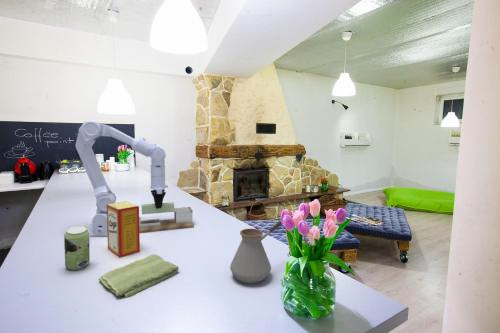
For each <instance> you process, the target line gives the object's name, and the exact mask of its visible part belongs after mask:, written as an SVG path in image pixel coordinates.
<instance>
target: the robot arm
mask: <svg viewBox="0 0 500 333" xmlns="http://www.w3.org/2000/svg"><path fill="white" fill-rule="evenodd" d="M76 137H77V138H76V142H75V148H76V151H77V153H78V155H79V158H80V160H81V162H82V165H83V168H84V169H85V172H86V174H87V177H88V179H89V181H90V184H91V186H92V189H93V193H94V196H95V199H96V202H95V207H96V214H95V215H94V216H93V218H92V219H91V226H92V233H91V234H89V237H108V234H107V204H112V203H117V202H116V201H117V196H116V194H115V193H114V192H112V190H111V187H110V186H109V185H108V183H107V181H106V178H105V177H104V174H103V172H102V169H101V166H100V164H99V162H98V159H97V157H96V155H95V152H94V150H93V145H94V144H95V143H96V141H97V140H98V139H99V138H100V137H112V138H114V139H116V140H117V141H120V142H122V143H124V144H127V145H129V146H131V150H132V151H134V152H136V153H138V154H141V155H142V156H145V157H146V158H149V157H150V159H151V161H150V162H151V165H150V188H149V189H150V193H151V195H152V197H153V201H154V202H153V204H155V206H156V209H159V208H161V207H162V203H164V202H163V201H164V198H165V196H166V193H167V192H166V191H165V189H166V188H169V185H167V184H166V165H165V164H166V162H165V161H166V160H165V159H166V157H167V154H166V151H165V150H164V149H163V148H161V147H160V146H157V143H154V144H153V143H151V142H149V141H146V140H147V139H146V138H144V137H137V138H134V137H132V136H129V135H128V134H126V133H124V132H123V131H120V130H119V129H117V128H114V127H113V126H110V125H106V124H104V123H101V122H99V121H96V120H94V119H93V120H92V119H90V120H86V121H84V122H83V123H82V124H81V126H80V127H79V128H78V133H77V136H76Z"/></svg>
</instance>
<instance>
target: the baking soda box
mask: <svg viewBox="0 0 500 333" xmlns="http://www.w3.org/2000/svg"><path fill="white" fill-rule="evenodd" d="M139 217H140V205H137V204H134V203H132V202H130V201H127V200H126V201H120V202H115V203H112V204H107V234H108V236H107V250H108V251H110V252H111V253H112V254H113V255H115V256H117V258H119V259H122V258H123V257H127V256H130V255H131V256H132V255H135V254H137V253H140V251H141V246H140V237H141V236H140V233H139Z"/></svg>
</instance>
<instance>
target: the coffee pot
mask: <svg viewBox="0 0 500 333" xmlns="http://www.w3.org/2000/svg"><path fill="white" fill-rule="evenodd" d="M282 224H283V223H281V220H280V221H278V222H277V223H275V224H274V225H273V226H272V227H271V228H270V229H269V230H268V231H267V232H265V233H264V232H263V230H261V229H258V228H244V229H241V230H240V231H239V235H240V236H241V238H242V239H241V241H240V243H239V246H238V248H237V249H236V252H235V254H234V257H233V258H232V261H231V263H230V268H229V270H230V271H231V273H232V276H234V277H235V278H236V279H237V280H238V281H239V282H241V283H243V284H251V285H253V284H259V283H261V282H262V281H264V280H265V279H266V278H268V276H269V275H270V273H271V270H272V265H271V263H270V259H269V258H268V255H267V252H266V251H265V248H264V245H263V243H262V241H263V240H264V239H266V237H268V236H269V235H270V234H272V232H275V230H277V229H278V228H279V227H280V226H282Z"/></svg>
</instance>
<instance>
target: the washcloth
mask: <svg viewBox="0 0 500 333" xmlns="http://www.w3.org/2000/svg"><path fill="white" fill-rule="evenodd" d="M179 270H180V269H179V266H178V265H176V264H174V263H173V262H171V261H168V260H167V261H166V260H164V258H162V257H161V256H160V255H157V254H155V253H153V254H150V255H147V256H146V257H144V258H141V259H138V260H137V259H136V260H135V261H133V262H130V263H129V264H126V265H123V266H121V267H119V268H118V267H117V268H114V269H112V270H109V271H108V272H105V273H104V274H103V275H101V276H99V278H98V281H99V282H101V283H102V284H103V286H105V288H107V289H108V290H109V291H110V292H112V293H113V294H115V296H117V297H118V296H123V297H124V299H127V298H130V297H132V296H133V295H136V294H138V293H139V292H143V291H144V290H146V289H147V288H148V289H149V288H150V287H153V286H155V285H157V284H158V283H160V282H163V281H165V280H166V279H169V278H171V277H172V276H175V275H176V274H177V273H178V272H179Z"/></svg>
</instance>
